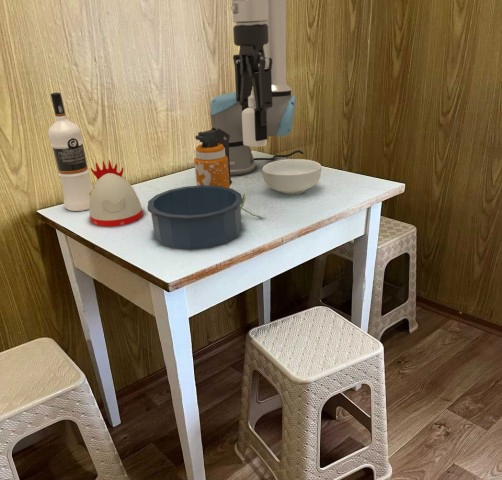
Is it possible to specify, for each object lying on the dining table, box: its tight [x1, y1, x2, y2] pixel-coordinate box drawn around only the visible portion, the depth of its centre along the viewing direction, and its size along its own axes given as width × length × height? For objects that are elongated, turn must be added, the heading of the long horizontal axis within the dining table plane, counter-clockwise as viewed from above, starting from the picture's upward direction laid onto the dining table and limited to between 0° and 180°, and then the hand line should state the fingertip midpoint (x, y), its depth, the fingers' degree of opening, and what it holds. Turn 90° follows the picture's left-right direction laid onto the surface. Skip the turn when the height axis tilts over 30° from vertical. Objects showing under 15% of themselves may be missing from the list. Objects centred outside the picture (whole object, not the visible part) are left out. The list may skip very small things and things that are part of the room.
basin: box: [147, 185, 243, 250], centre depth 127 cm, size 23×23×8 cm
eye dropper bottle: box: [242, 89, 268, 148], centre depth 120 cm, size 4×6×12 cm
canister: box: [193, 127, 233, 188], centre depth 140 cm, size 9×11×20 cm
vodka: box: [47, 92, 93, 212], centre depth 141 cm, size 9×9×30 cm
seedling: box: [240, 194, 262, 219], centre depth 134 cm, size 7×8×7 cm
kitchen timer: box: [88, 159, 144, 227], centre depth 136 cm, size 14×14×15 cm
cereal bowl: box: [261, 158, 322, 195], centre depth 151 cm, size 17×17×7 cm
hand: (254, 137), depth 123 cm, fingers closed on eye dropper bottle, 5 cm apart
